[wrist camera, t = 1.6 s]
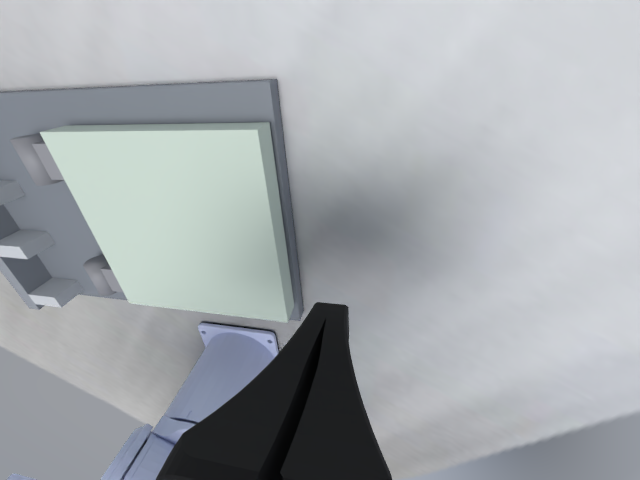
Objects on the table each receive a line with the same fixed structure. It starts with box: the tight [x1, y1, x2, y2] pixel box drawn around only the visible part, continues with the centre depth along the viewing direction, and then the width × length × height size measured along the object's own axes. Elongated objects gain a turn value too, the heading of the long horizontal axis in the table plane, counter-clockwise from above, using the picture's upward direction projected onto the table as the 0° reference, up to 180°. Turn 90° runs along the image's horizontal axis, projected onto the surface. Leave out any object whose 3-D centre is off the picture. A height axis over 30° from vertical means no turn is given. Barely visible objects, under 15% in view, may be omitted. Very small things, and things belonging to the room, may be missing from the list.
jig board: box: [0, 79, 304, 321], centre depth 23 cm, size 18×26×4 cm
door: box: [10, 122, 294, 323], centre depth 22 cm, size 14×17×2 cm
